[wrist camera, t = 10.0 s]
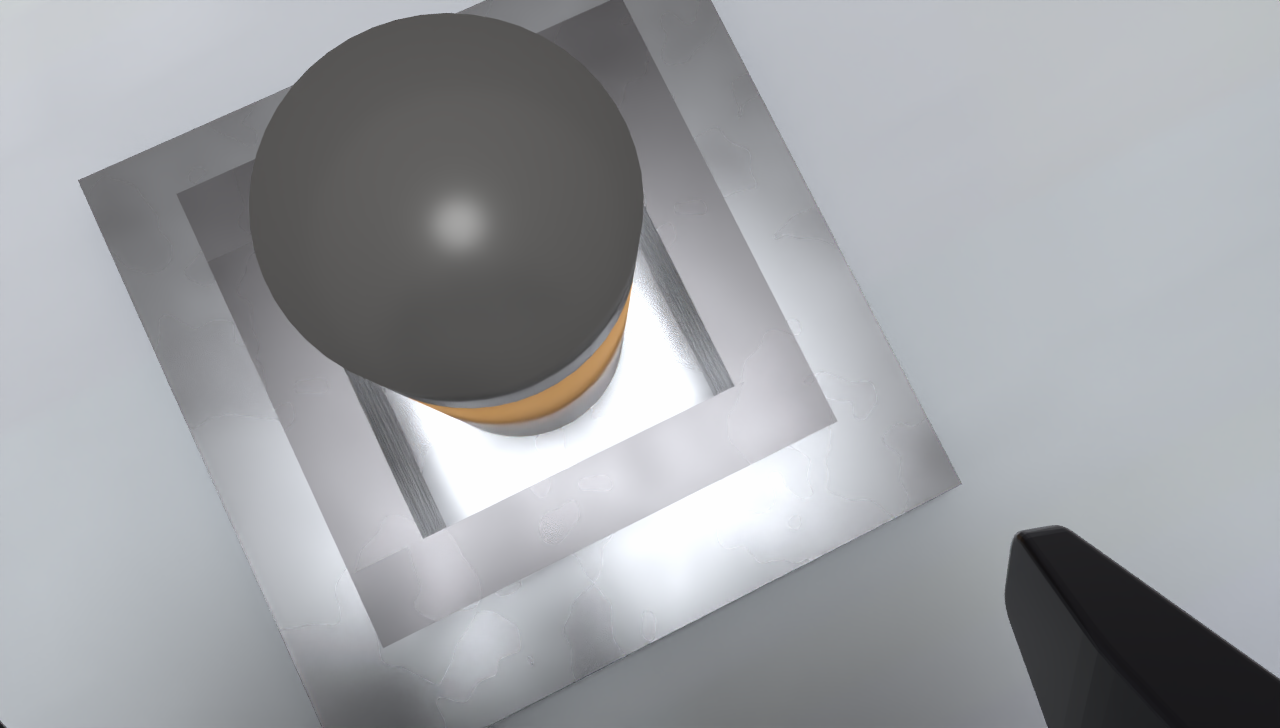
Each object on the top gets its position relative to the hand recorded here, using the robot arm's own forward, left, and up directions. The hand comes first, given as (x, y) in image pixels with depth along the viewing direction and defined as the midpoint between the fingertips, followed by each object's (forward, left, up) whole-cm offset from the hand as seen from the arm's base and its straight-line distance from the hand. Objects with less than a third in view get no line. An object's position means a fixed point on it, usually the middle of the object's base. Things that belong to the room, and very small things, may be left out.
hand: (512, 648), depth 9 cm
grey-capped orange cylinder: (+5, -1, -12) cm, 13 cm away
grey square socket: (+5, -1, -13) cm, 14 cm away
